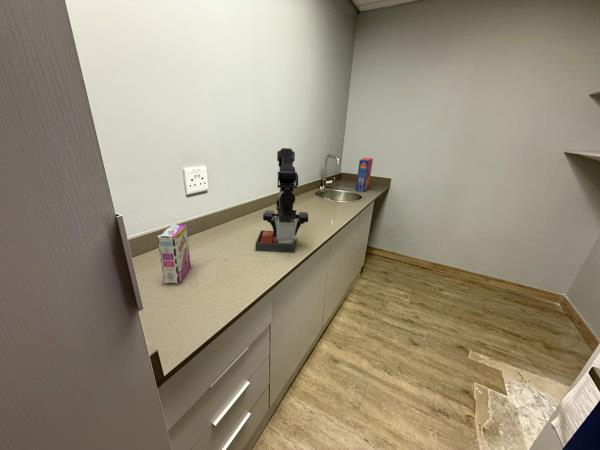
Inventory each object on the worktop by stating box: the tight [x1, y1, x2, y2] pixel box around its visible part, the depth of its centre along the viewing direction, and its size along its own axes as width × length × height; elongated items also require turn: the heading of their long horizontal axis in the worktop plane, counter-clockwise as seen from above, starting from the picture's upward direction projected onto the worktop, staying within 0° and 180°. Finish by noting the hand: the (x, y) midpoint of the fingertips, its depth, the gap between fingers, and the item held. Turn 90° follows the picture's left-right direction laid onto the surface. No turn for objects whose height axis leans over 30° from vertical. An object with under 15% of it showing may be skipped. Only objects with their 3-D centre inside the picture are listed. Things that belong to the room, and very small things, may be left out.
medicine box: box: [275, 218, 297, 241], centre depth 104 cm, size 8×4×9 cm, turn 100°
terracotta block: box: [262, 230, 274, 243], centre depth 107 cm, size 4×4×4 cm
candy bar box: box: [156, 223, 192, 285], centre depth 79 cm, size 11×5×16 cm, turn 5°
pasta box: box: [355, 157, 374, 193], centre depth 231 cm, size 28×8×28 cm, turn 157°
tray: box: [255, 229, 296, 253], centre depth 107 cm, size 16×14×4 cm
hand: (285, 235), depth 105 cm, fingers closed on medicine box, 8 cm apart
